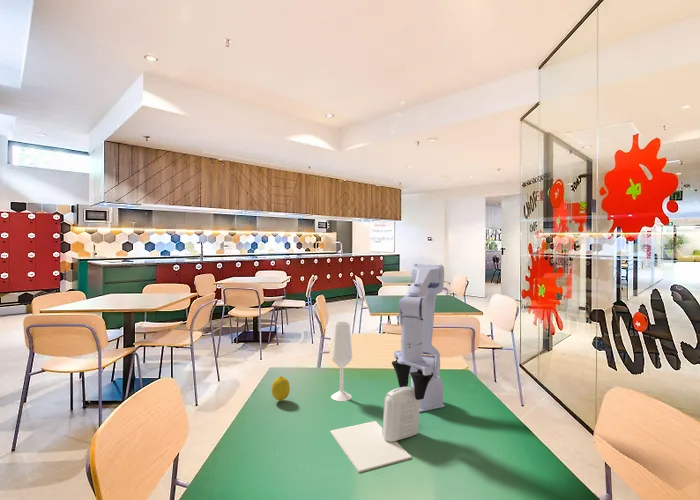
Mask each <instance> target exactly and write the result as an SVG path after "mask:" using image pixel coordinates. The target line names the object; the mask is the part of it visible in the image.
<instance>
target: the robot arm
mask: <svg viewBox="0 0 700 500" xmlns="http://www.w3.org/2000/svg"><path fill="white" fill-rule="evenodd" d="M411 280H412V283H411V284H410V285H409V287H408V289H407V292H406V294H405V296H403V297H400V298H399V302H398V317H399V325H400V350H395V351H393V353H394V354H393V358H394V359H395V360H393V361H391V365H392V367H393V369H394V372H395V374H396V377H397V382H398V386H399V387H398V388H400V387H409V385H408V384H409V377H410V387H413V388H414V391H415V398H416V400H420V407H419V413H421V412H426V411H431V410H436V409H441V408H444V407H445V404H444V383H443V380H442V378H441V376H440V372H441V353H440V351H439V350H438V349H437V348H436V347H435V346H434V345H433V335H434V334H433V332H434V321H435V320H434V319H435V309H436V299H437V297H438V294H441V293H442V292H443V290H444V283H445V281H444V280H445V267H444V266H443V264H440V265H439V264H417V263H414V264H413V265H412V267H411Z"/></svg>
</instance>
